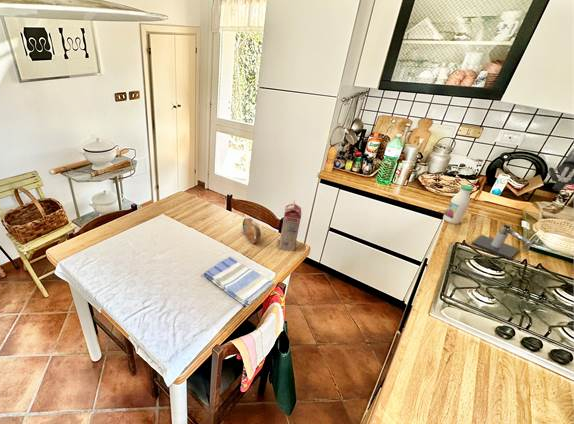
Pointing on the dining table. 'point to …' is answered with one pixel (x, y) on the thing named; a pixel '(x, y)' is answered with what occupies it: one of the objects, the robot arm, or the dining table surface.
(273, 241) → the dining table surface
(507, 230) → the spout
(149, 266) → the dining table surface
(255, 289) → the dish towel
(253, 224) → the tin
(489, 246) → the faucet base
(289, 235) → the juice carton
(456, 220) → the milk bottle
